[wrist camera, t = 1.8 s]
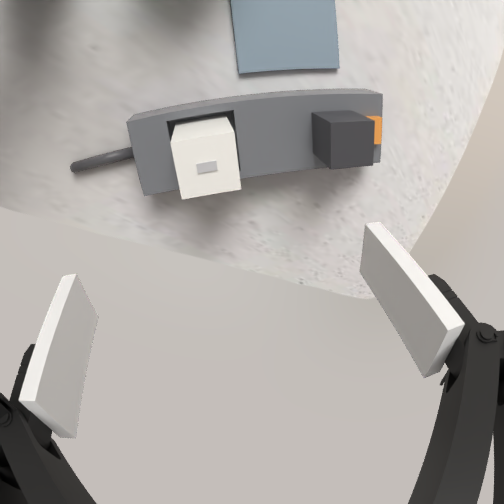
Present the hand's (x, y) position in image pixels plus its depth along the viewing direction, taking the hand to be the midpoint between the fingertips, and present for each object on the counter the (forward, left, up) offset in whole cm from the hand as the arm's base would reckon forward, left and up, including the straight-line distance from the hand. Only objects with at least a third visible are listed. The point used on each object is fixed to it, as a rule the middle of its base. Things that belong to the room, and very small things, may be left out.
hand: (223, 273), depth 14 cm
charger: (0, 0, -22) cm, 22 cm away
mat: (+10, +12, -24) cm, 28 cm away
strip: (+2, 0, -24) cm, 24 cm away
